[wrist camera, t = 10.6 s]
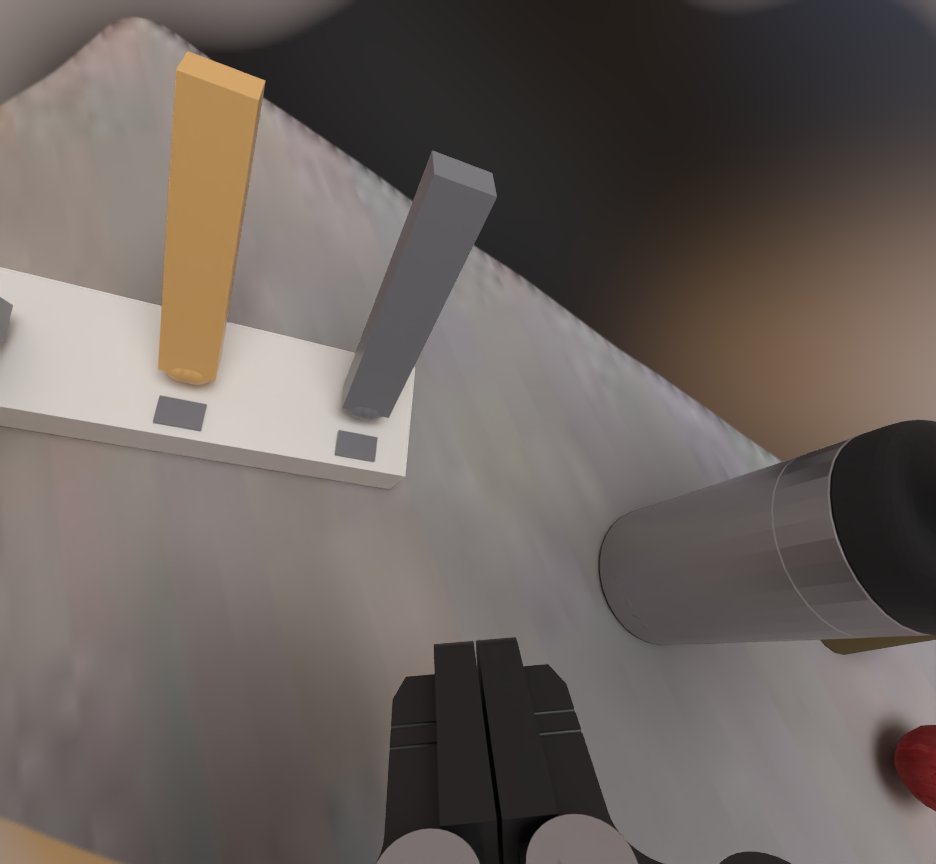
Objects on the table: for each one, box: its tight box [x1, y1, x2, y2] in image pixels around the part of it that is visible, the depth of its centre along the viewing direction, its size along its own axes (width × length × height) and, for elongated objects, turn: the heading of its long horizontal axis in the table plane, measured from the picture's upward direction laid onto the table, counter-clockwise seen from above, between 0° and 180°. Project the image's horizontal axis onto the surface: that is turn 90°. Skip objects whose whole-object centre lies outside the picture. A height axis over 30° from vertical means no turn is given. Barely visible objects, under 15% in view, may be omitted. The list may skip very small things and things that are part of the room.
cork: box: [821, 635, 936, 655], centre depth 44 cm, size 6×6×11 cm
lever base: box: [0, 267, 415, 489], centre depth 32 cm, size 24×7×3 cm, turn 87°
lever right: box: [342, 151, 497, 420], centre depth 29 cm, size 3×2×15 cm
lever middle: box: [158, 51, 265, 385], centre depth 26 cm, size 3×2×15 cm
